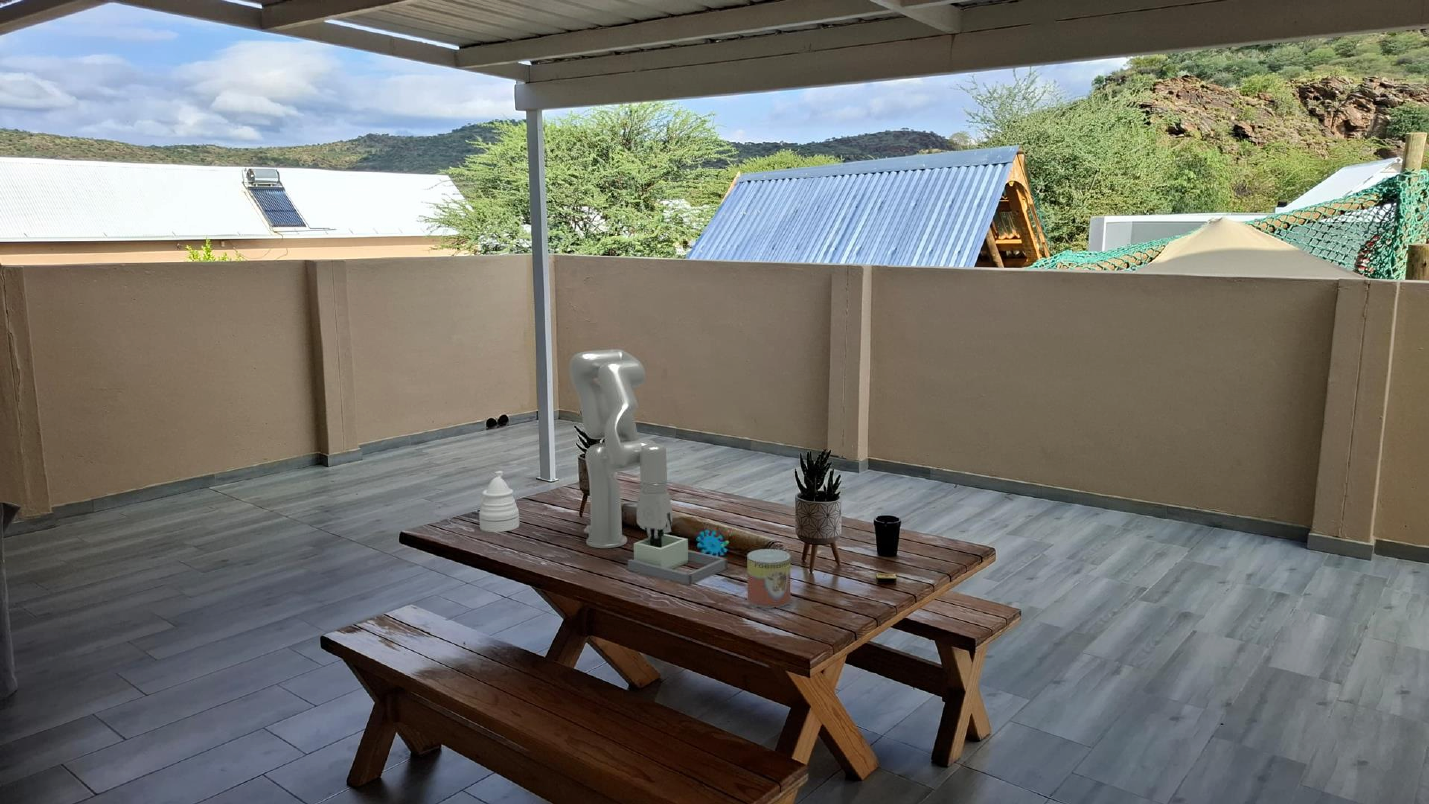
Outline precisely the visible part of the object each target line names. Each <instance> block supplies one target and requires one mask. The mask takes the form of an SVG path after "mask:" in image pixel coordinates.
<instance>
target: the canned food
mask: <svg viewBox="0 0 1429 804" xmlns="http://www.w3.org/2000/svg"><path fill="white" fill-rule="evenodd" d="M746 558H747V564H746V565H747V569H746V571H747V572H746V573H747V577H746V579H747V598H746V600H747V603H748V604H750V605H751V606H753V607H757V608H758V607H759V608H763V609H774V607H776V608H780V607H779V606H782V607H785V606H787V605H789V604H790V603H791V600H792V599H791V558H792V555H791V554H790V553H789V552H788V551H785V550H781V549H776V548H775V549H774V548H762V549H756V550H752V551H750V552H748V553H747V555H746ZM788 603H789V604H788ZM786 604H787V605H786ZM784 605H785V606H784Z"/></svg>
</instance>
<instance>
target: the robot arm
mask: <svg viewBox="0 0 1429 804" xmlns="http://www.w3.org/2000/svg"><path fill="white" fill-rule="evenodd" d="M569 377H570V381H571V384H572V385H573V388H574V390H575V392H576V395H577V397H578V401H579V407H580V412H581V413H580V414H581V417H582V422H583V427H584V431H585V434H586V436H587V437H588V438H589V439H590V440H591V439H593V440H600V439H601V440H602V439H604V442H600V443H599V442H598V443H595V444H592V445H591V446H590V447H589V448H587V450H586V452H585V464H586V469H587V473H588V482H589V503H590V504H589V506H590V524H587V525H586V527H585V528H584V529H583V532H584V533H585V534H588V537H587V539H586V540H585V542H586V546H588V547H590V548H596V549H612V548H613V549H614V548H618V547H621V546H624V545H625V544H627V543H628V537H627V536H625V535H624V534H623V529H622V527H623V525H622V523H623V522H622V495H621V494H622V493H621V492H622V490H621V485H620V483H619V481H618V480H617V478H616V477H615V476H614V473H615V474H616V473H620V472H624V471H625V472H626V471H630V470H635V469H637V468H638V467H639V472H640V475H639V476H640V481H639V482H638V486H639V487H640V491H638V496H637V500H636V524H637V525H638V526H639V527H640V528H641V529H642V530H644V531H645V532H646V534H647V536H648V537H647V538H650V546H654V547H658V548H662V536H663V535H664V534H669V533H671V532H672V529H671V527H672V525H673V508H672V502H671V497H670V492H668V473H667V472H668V470H667V469H668V468H667V465H668V463H667V449H666V447H665V445H664V444H661V443H656V442H655V441H654V440H651V439H641V440H639V435H638V434H639V433H638V429H637V424H636V420H635V417H634V414H635V413H636V411H637V410H638V409H639V408H638V407H639V405H638V404H639V403H638V401H637V398H636V395H635V393H634V390H633V388H638V387H639V388H640V387H642V386H643V385H644V383H645V381H646V371H645V368H644V365H643V364H642V363H641V362H640V361H639V360H638V359H637V358H636V357H635V356H633V355H632V354H630V353H628V352H626V351H625V350H623V349H618V348H614V349H613V348H611V349H600V350H599V349H598V350H597V349H596V350H595V349H594V350H586V351H581V352H579V353H576V354H574V355H573V356H572V358H571V359H570V363H569ZM595 379H598V382H597V381H596V380H595Z"/></svg>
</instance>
